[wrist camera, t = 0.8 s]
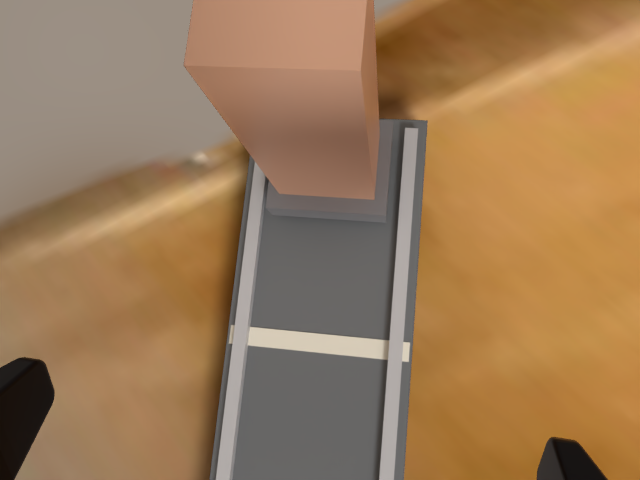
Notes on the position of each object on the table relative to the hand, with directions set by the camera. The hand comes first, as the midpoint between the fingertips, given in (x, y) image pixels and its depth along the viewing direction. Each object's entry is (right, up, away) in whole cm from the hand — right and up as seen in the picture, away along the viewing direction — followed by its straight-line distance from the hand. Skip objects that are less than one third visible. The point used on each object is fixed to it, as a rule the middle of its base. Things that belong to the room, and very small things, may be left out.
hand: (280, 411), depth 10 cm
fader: (+1, +6, +12) cm, 13 cm away
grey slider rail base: (+1, -2, +13) cm, 13 cm away
